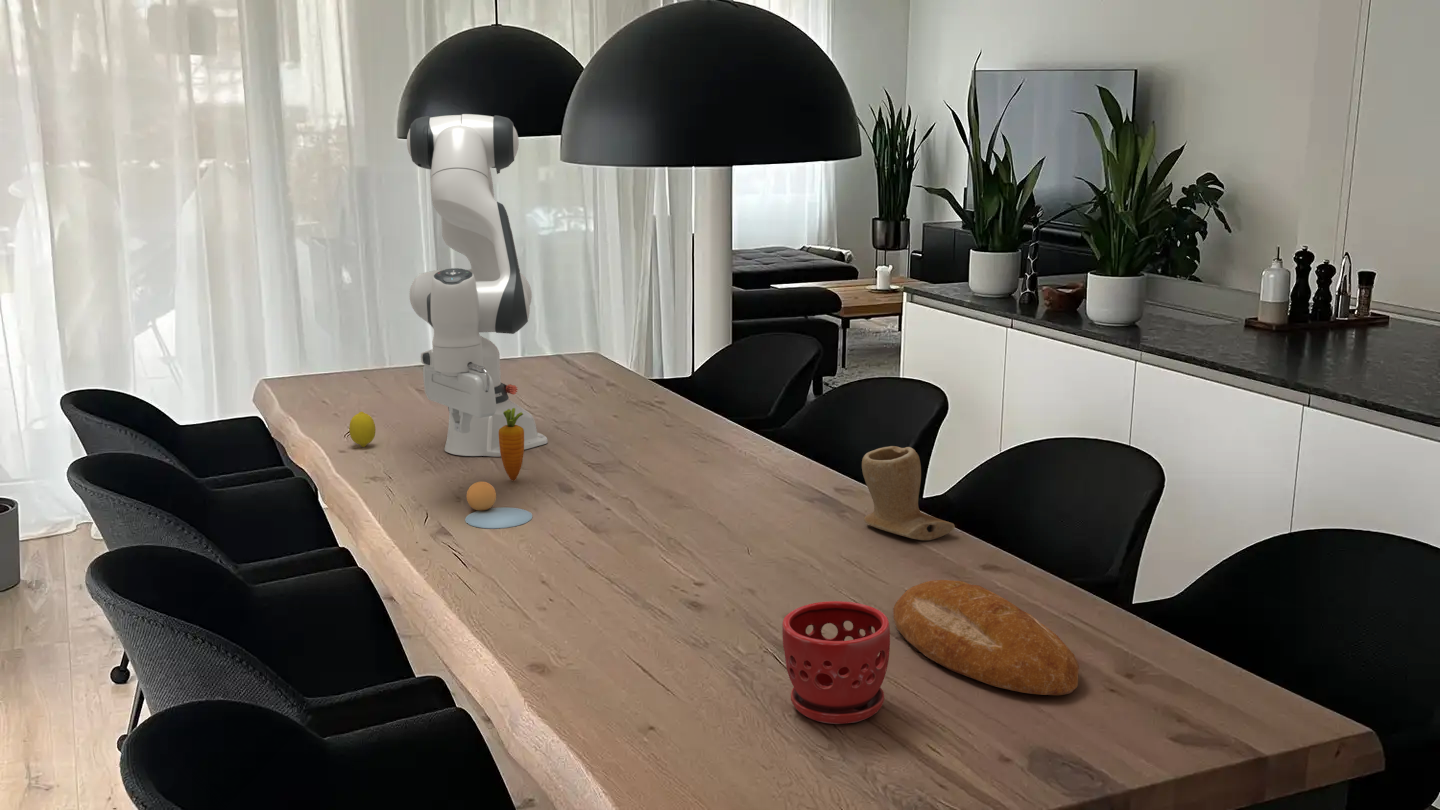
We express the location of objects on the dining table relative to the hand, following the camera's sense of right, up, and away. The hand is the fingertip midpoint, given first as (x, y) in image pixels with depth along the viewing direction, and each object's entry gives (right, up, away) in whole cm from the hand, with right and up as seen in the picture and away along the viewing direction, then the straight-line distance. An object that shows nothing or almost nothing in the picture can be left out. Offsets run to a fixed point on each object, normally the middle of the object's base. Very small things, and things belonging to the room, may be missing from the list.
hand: (461, 431), depth 250 cm
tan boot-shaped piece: (+80, -18, -15) cm, 83 cm away
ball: (+4, -12, -2) cm, 13 cm away
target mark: (+8, -16, -6) cm, 19 cm away
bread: (+83, -29, -65) cm, 110 cm away
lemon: (-30, -5, +44) cm, 54 cm away
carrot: (+7, -10, +17) cm, 21 cm away
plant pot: (+62, -33, -83) cm, 109 cm away
